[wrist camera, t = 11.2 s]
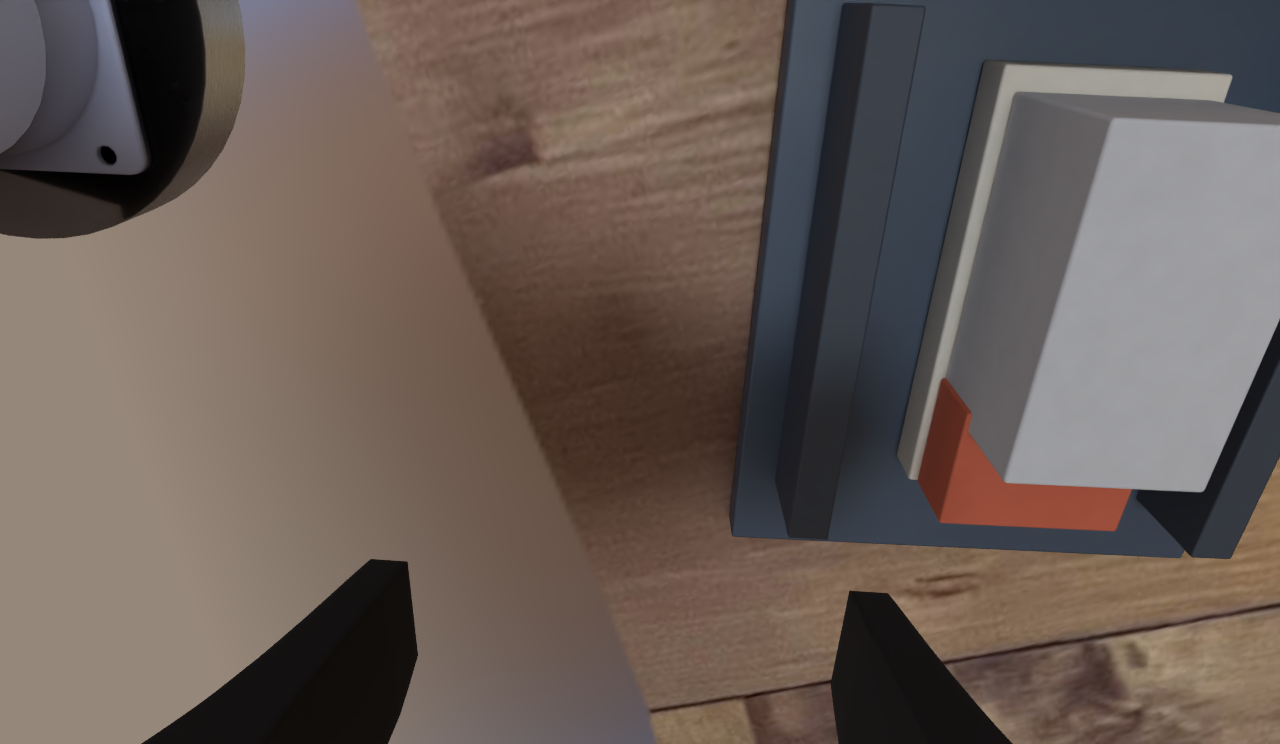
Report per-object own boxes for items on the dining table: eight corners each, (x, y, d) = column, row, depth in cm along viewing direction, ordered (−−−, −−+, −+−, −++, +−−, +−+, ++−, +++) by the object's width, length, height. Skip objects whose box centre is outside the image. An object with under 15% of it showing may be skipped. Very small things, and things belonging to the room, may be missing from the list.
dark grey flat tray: (1161, 537, 23) (1240, 622, 20) (729, 516, 23) (739, 598, 20) (1422, -79, 16) (1609, -97, 13) (799, -107, 16) (832, -132, 13)
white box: (1065, 463, 21) (1176, 592, 16) (895, 455, 21) (960, 581, 16) (1198, 69, 16) (1400, 96, 12) (983, 59, 16) (1104, 82, 12)
